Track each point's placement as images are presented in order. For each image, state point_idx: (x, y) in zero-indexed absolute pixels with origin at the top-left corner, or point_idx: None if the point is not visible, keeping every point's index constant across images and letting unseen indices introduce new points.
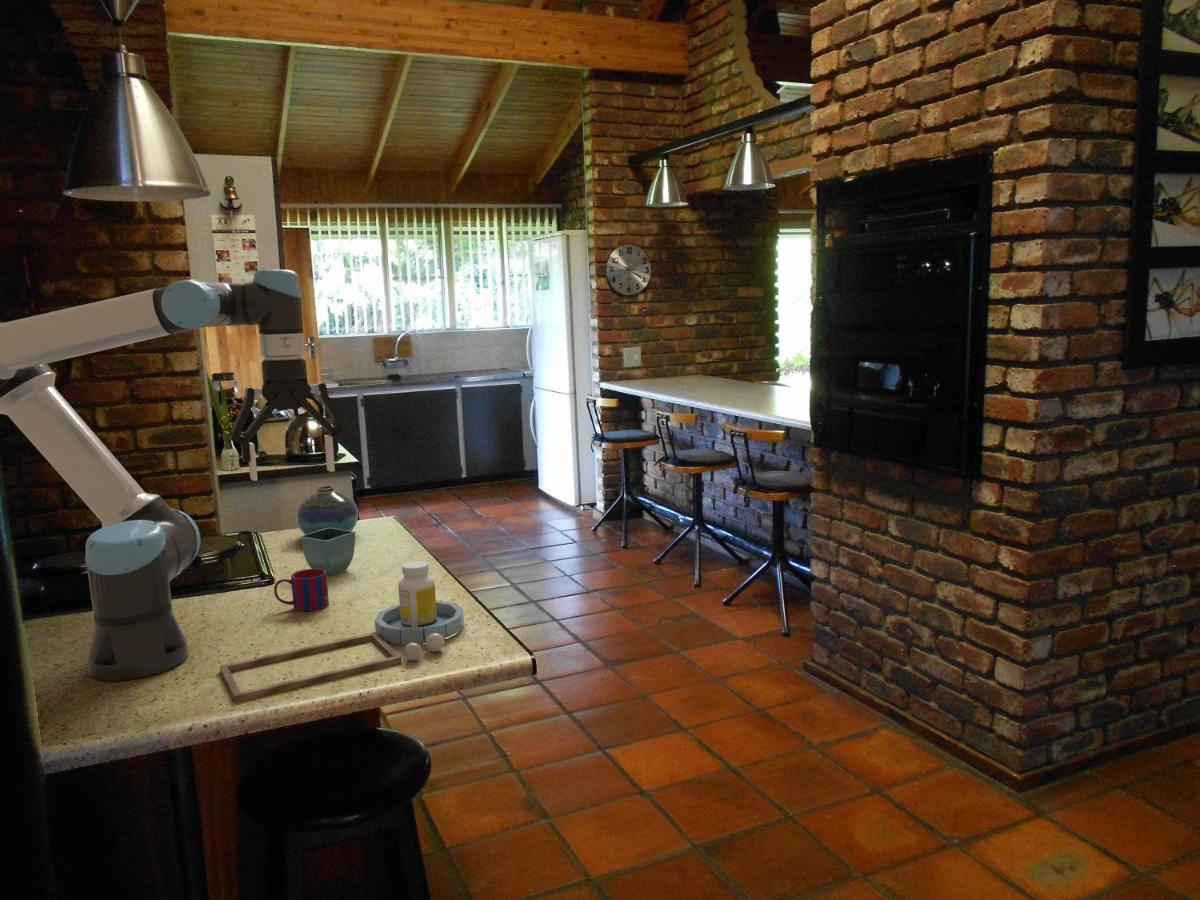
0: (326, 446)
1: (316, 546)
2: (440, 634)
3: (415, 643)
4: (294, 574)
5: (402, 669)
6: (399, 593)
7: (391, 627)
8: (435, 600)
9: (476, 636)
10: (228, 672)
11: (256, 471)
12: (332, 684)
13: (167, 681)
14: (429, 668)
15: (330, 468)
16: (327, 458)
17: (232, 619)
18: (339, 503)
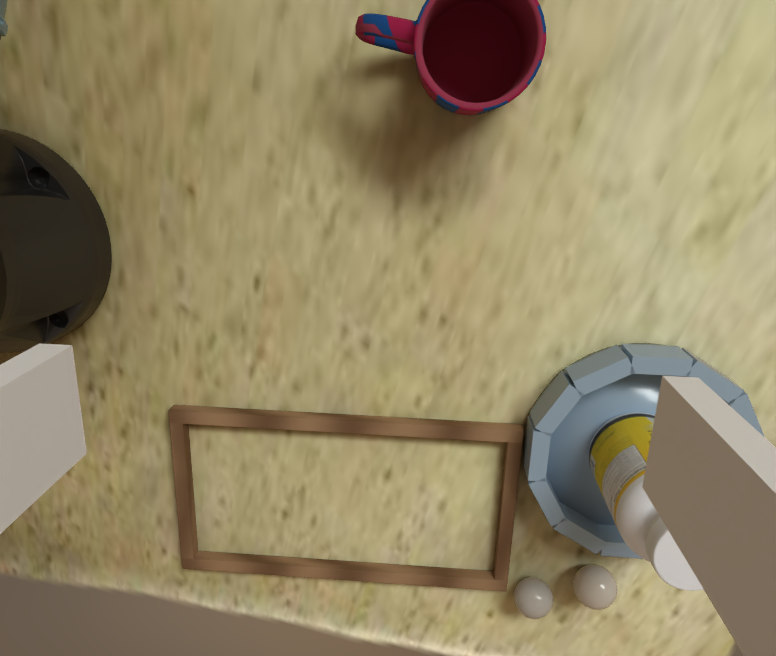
0: (764, 552)
1: None
2: (613, 599)
3: (542, 613)
4: (433, 5)
5: (492, 607)
6: (611, 499)
7: (543, 502)
8: None
9: None
10: (181, 457)
11: (43, 491)
12: (356, 590)
13: None
14: (536, 632)
15: (652, 500)
16: (698, 474)
17: (236, 28)
18: None
